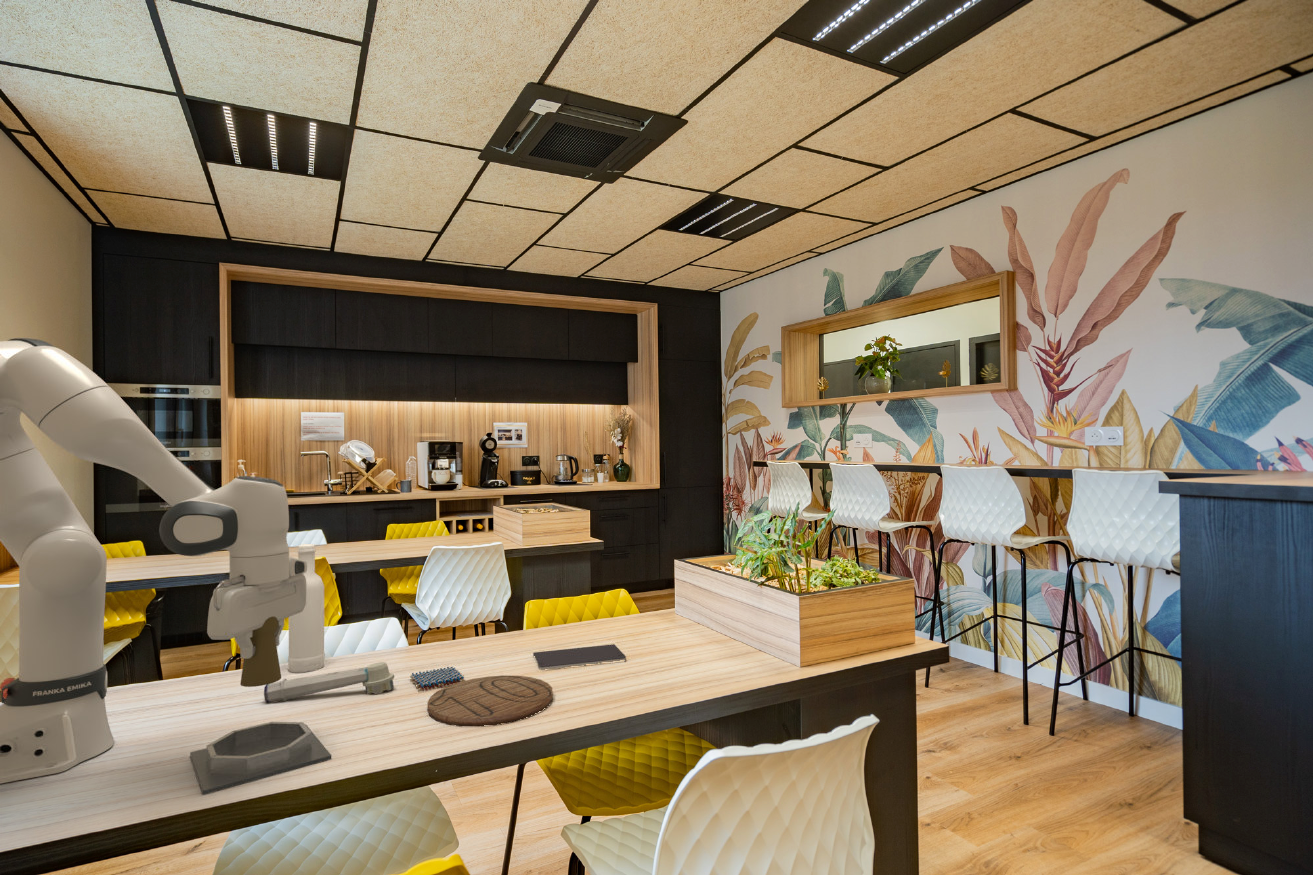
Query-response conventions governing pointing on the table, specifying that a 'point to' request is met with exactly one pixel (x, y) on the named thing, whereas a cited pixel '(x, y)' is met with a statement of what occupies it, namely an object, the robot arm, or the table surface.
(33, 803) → the table surface
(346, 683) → the toothbrush head
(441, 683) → the woven mat
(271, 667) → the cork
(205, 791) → the duct collar
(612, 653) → the notebook
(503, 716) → the trivet
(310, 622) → the bottle
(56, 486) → the robot arm
